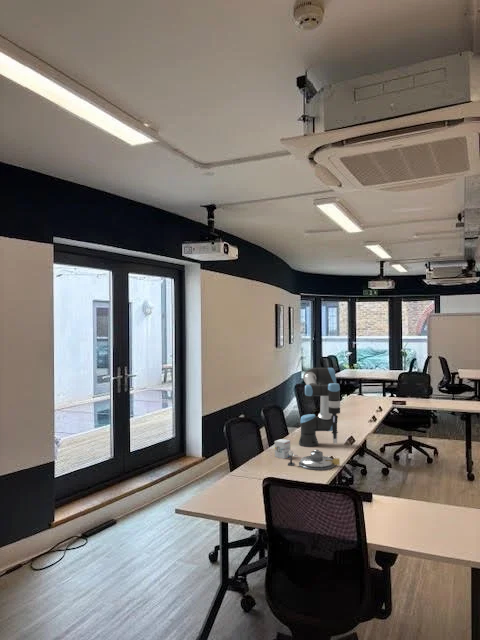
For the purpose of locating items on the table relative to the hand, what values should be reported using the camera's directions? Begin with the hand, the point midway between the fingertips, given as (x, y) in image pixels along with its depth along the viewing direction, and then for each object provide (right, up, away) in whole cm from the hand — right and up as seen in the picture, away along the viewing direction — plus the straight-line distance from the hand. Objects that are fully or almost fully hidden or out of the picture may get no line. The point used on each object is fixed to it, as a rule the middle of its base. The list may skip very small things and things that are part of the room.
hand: (335, 443), depth 309 cm
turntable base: (-11, -17, +9) cm, 22 cm away
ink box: (-31, -18, +32) cm, 48 cm away
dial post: (-26, -17, +11) cm, 33 cm away
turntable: (-9, -16, +9) cm, 20 cm away
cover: (-10, -14, +10) cm, 20 cm away
